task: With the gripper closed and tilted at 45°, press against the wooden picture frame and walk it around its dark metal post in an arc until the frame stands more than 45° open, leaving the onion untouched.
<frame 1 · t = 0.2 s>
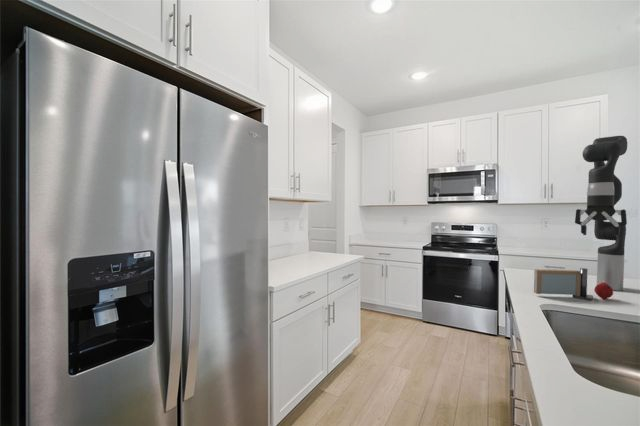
hand: (599, 235, 110), 29 cm above the countertop, tool pointing down, fingers open, 8 cm apart
gate post: (582, 297, 125), on the countertop
onion: (603, 299, 123), on the countertop
wooden picture frame: (557, 282, 126), point 7 cm above the countertop, hinge at 0.0°
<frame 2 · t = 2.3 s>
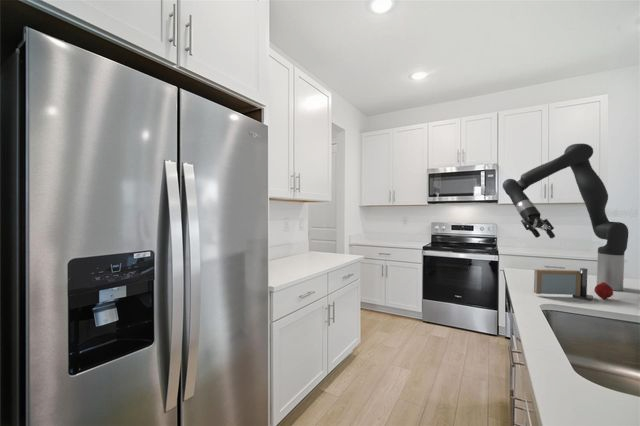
hand: (545, 237, 133), 26 cm above the countertop, tool tilted 40°, fingers open, 8 cm apart
nothing on the countertop moved.
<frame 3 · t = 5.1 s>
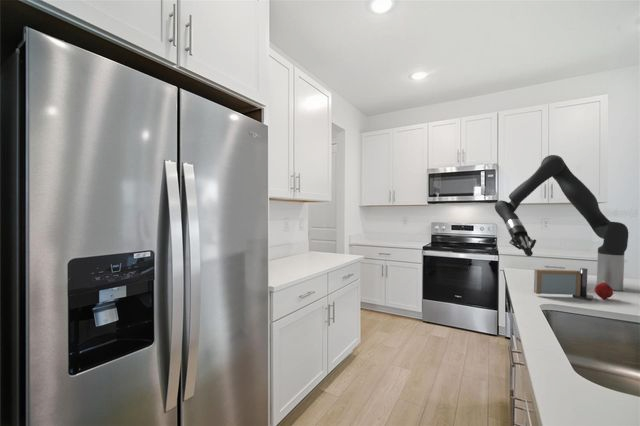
hand: (530, 255, 141), 16 cm above the countertop, tool tilted 45°, fingers closed
nothing on the countertop moved.
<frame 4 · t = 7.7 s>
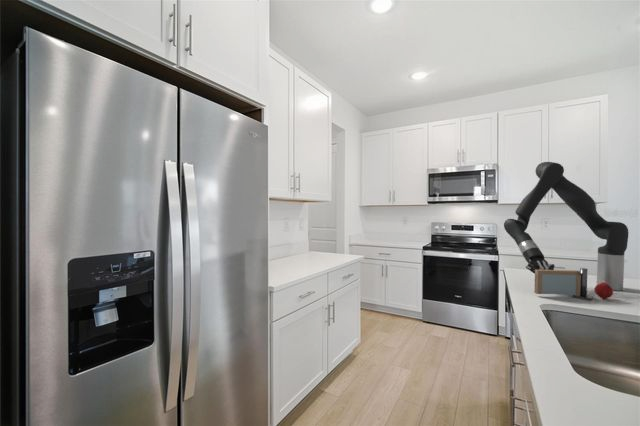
hand: (550, 282, 127), 6 cm above the countertop, tool tilted 45°, fingers closed
wooden picture frame: (557, 282, 126), point 7 cm above the countertop, hinge at 1.1°, touching gripper
everything else where it was.
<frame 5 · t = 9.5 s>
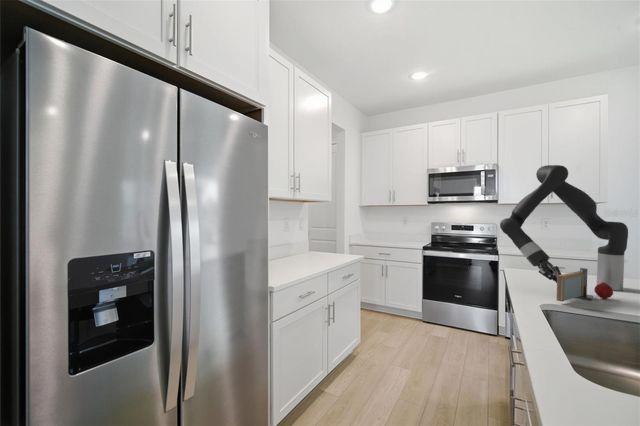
hand: (564, 287, 120), 6 cm above the countertop, tool tilted 45°, fingers closed
wooden picture frame: (570, 285, 120), point 7 cm above the countertop, hinge at 31.0°, touching gripper
everything else where it was.
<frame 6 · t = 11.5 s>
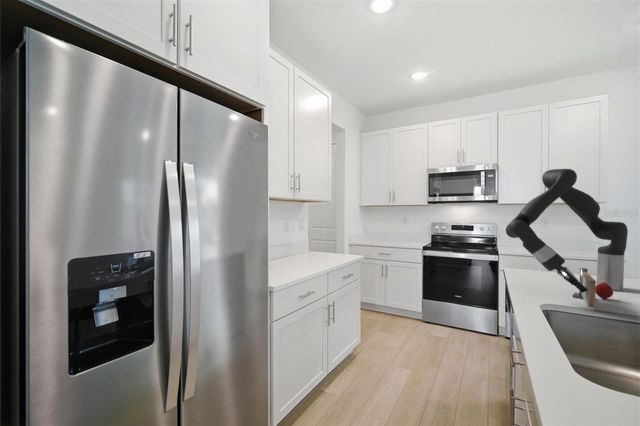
hand: (584, 291, 115), 6 cm above the countertop, tool tilted 45°, fingers closed
wooden picture frame: (587, 288, 116), point 7 cm above the countertop, hinge at 59.3°, touching gripper
everything else where it was.
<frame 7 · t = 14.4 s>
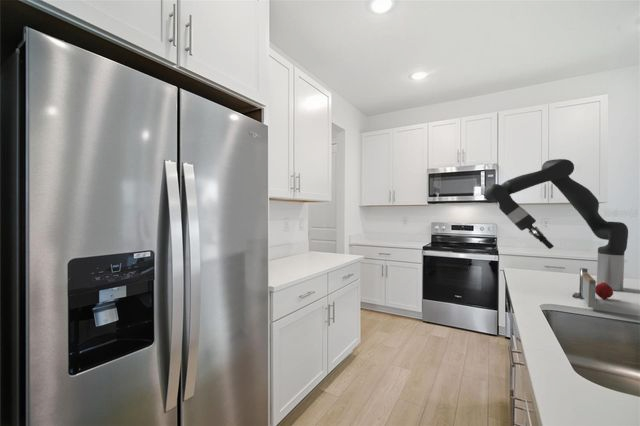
hand: (551, 247, 126), 22 cm above the countertop, tool tilted 40°, fingers closed
wooden picture frame: (587, 288, 116), point 7 cm above the countertop, hinge at 59.3°
everything else where it was.
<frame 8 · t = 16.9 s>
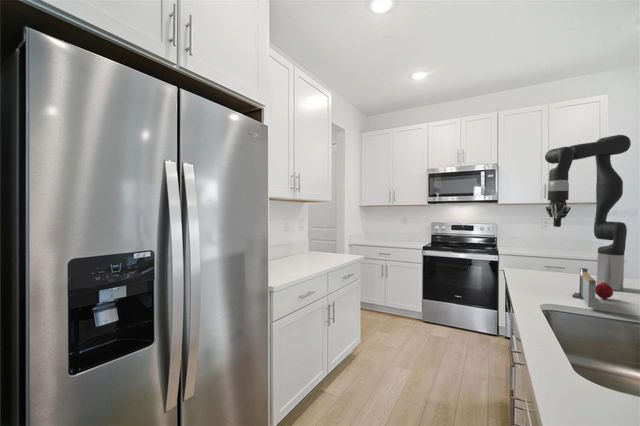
hand: (557, 226, 133), 31 cm above the countertop, tool pointing down, fingers closed
nothing on the countertop moved.
at the end: wooden picture frame at +59° (first picture: +0°); onion moved 0.2 cm from its start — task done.
